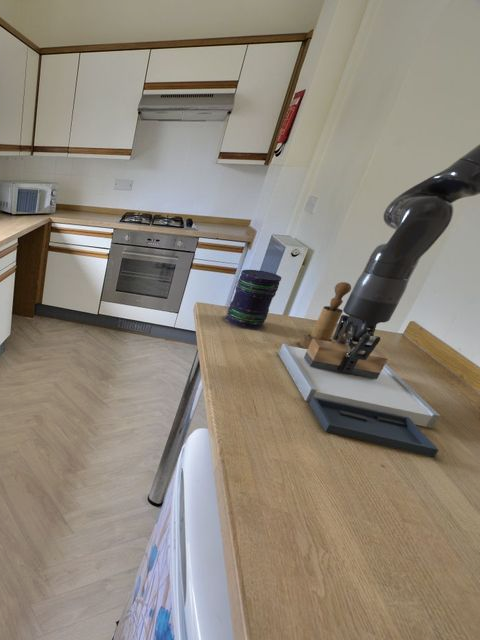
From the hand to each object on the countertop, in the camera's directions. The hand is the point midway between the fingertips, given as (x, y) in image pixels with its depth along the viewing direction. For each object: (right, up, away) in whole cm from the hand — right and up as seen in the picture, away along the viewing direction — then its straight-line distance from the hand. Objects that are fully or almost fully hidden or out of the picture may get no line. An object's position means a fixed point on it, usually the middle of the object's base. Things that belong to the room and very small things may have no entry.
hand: (339, 366), depth 92 cm
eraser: (0, 0, 0) cm, 0 cm away
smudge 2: (-3, -9, -15) cm, 18 cm away
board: (0, -4, -2) cm, 4 cm away
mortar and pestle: (+8, +4, +16) cm, 18 cm away
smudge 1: (-10, -9, -13) cm, 19 cm away
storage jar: (-1, +11, +30) cm, 32 cm away
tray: (-9, -11, -16) cm, 21 cm away
